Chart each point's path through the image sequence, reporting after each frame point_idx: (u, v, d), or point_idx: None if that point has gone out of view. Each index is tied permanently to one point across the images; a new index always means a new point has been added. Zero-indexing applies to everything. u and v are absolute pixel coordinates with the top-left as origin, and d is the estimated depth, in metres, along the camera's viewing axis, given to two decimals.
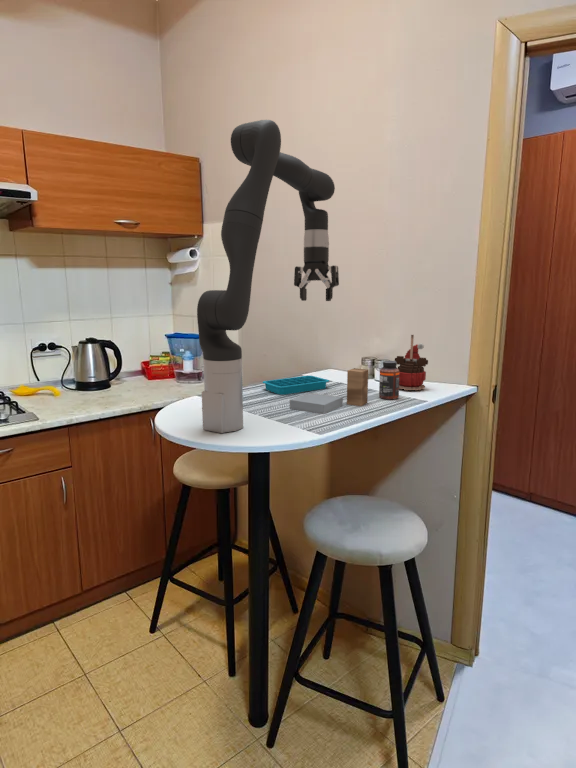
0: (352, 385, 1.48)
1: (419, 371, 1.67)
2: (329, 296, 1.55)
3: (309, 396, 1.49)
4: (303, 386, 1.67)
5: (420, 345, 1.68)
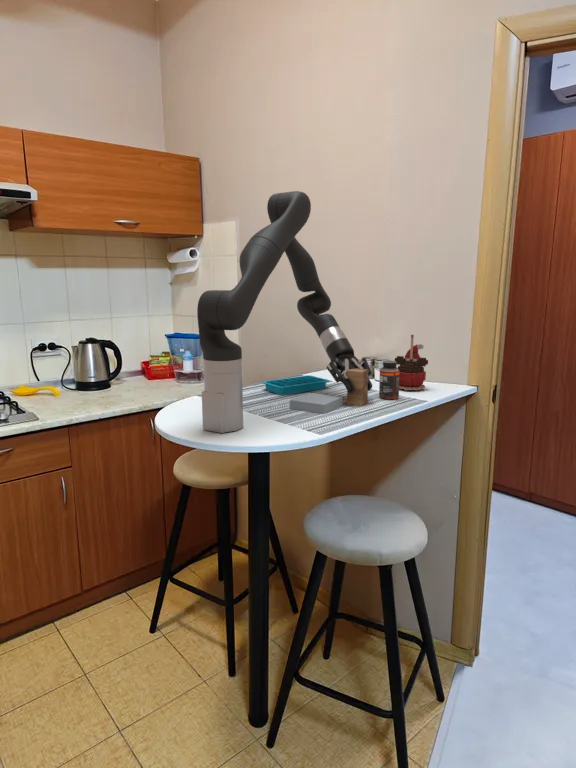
0: None
1: (419, 371, 1.67)
2: (370, 383, 1.51)
3: (309, 396, 1.49)
4: (303, 386, 1.67)
5: (420, 345, 1.68)
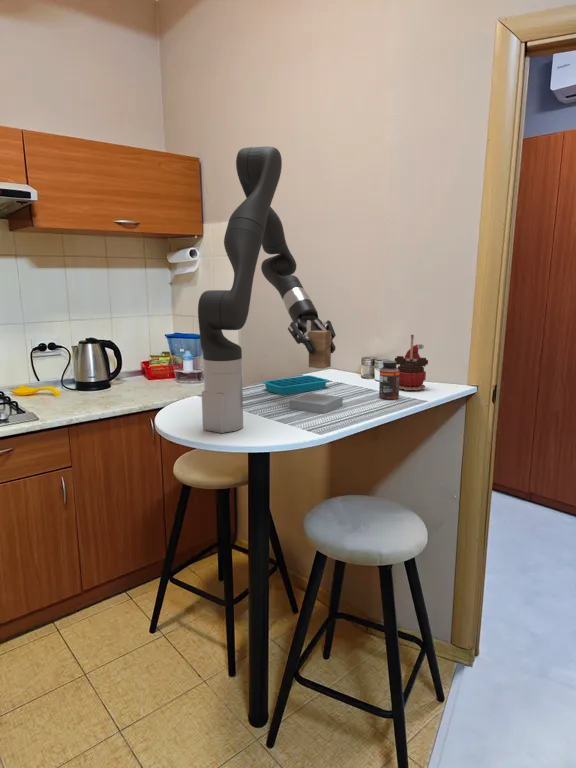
0: None
1: (419, 371, 1.67)
2: (334, 346, 1.45)
3: (309, 396, 1.49)
4: (304, 386, 1.67)
5: (420, 345, 1.68)
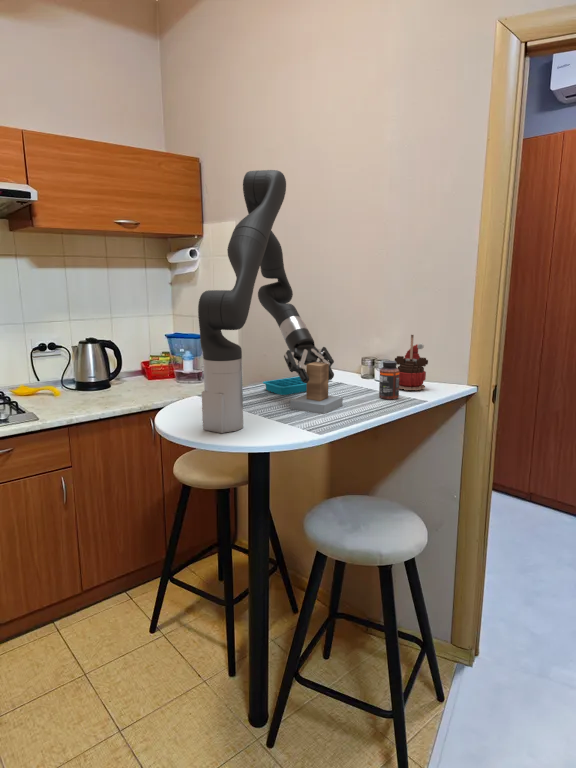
0: (311, 380, 1.44)
1: (419, 371, 1.67)
2: (332, 372, 1.47)
3: None
4: (304, 386, 1.67)
5: (420, 345, 1.68)
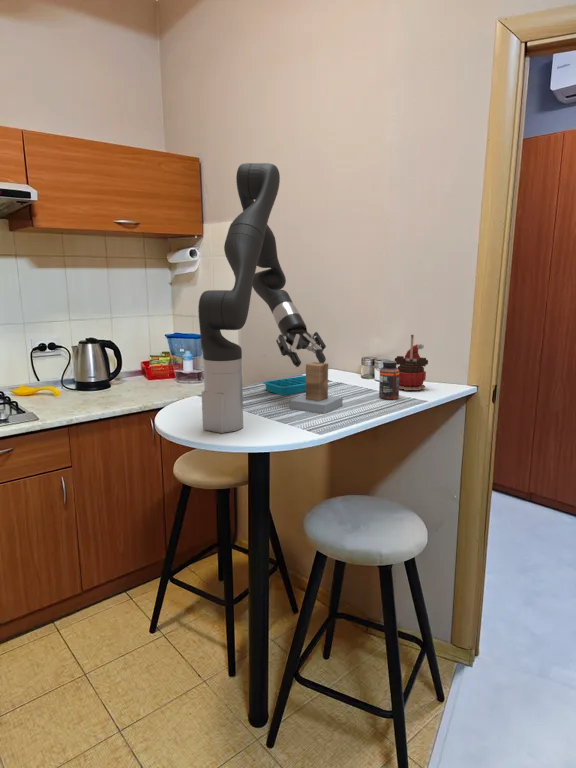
0: (311, 380, 1.44)
1: (419, 371, 1.67)
2: (324, 357, 1.50)
3: None
4: (304, 386, 1.67)
5: (420, 345, 1.68)
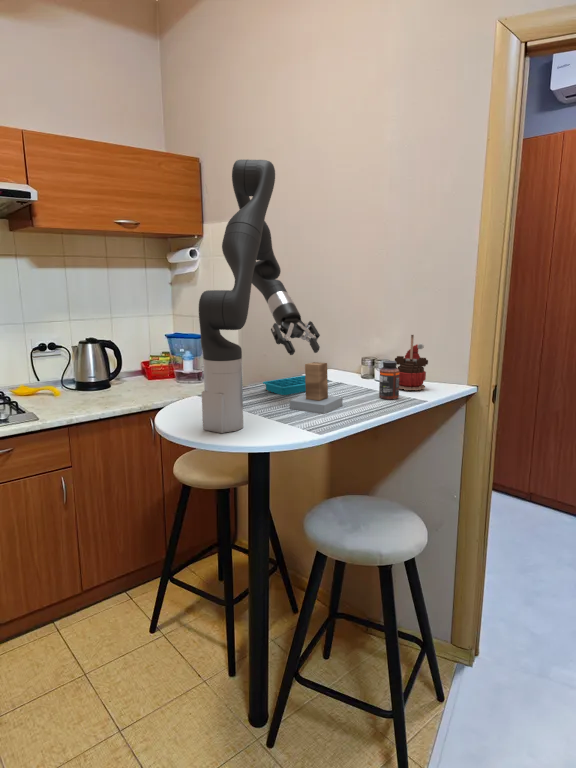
0: (310, 379, 1.44)
1: (419, 371, 1.67)
2: (318, 345, 1.52)
3: None
4: (304, 386, 1.67)
5: (420, 345, 1.68)
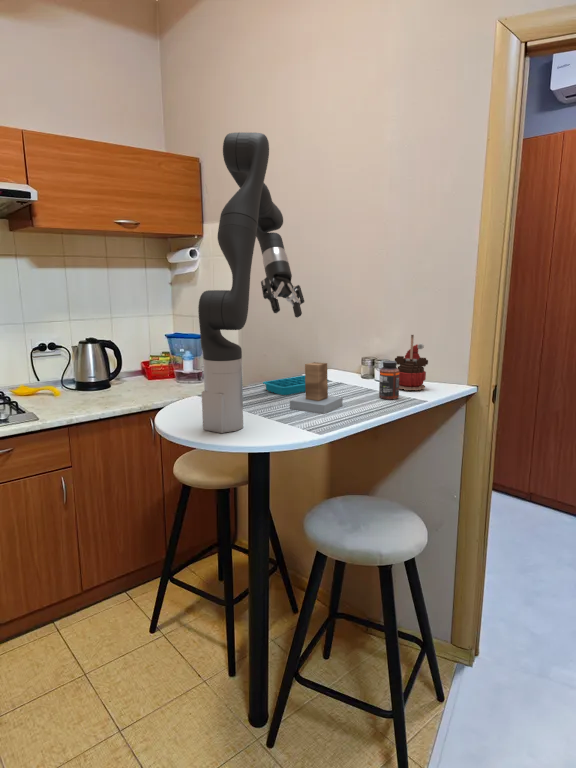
0: (310, 379, 1.44)
1: (419, 371, 1.67)
2: (300, 311, 1.54)
3: None
4: (304, 386, 1.67)
5: (420, 345, 1.68)
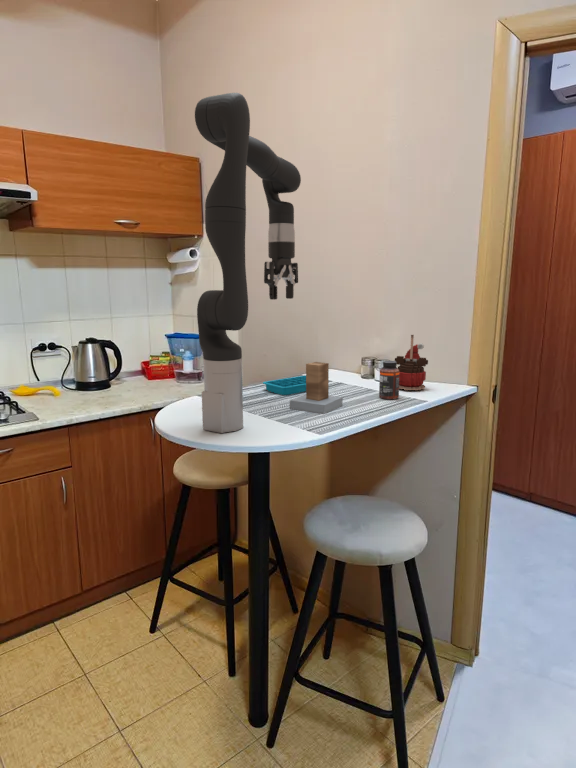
0: (311, 379, 1.45)
1: (419, 371, 1.67)
2: (292, 293, 1.53)
3: None
4: (304, 386, 1.67)
5: (420, 345, 1.68)
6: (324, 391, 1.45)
